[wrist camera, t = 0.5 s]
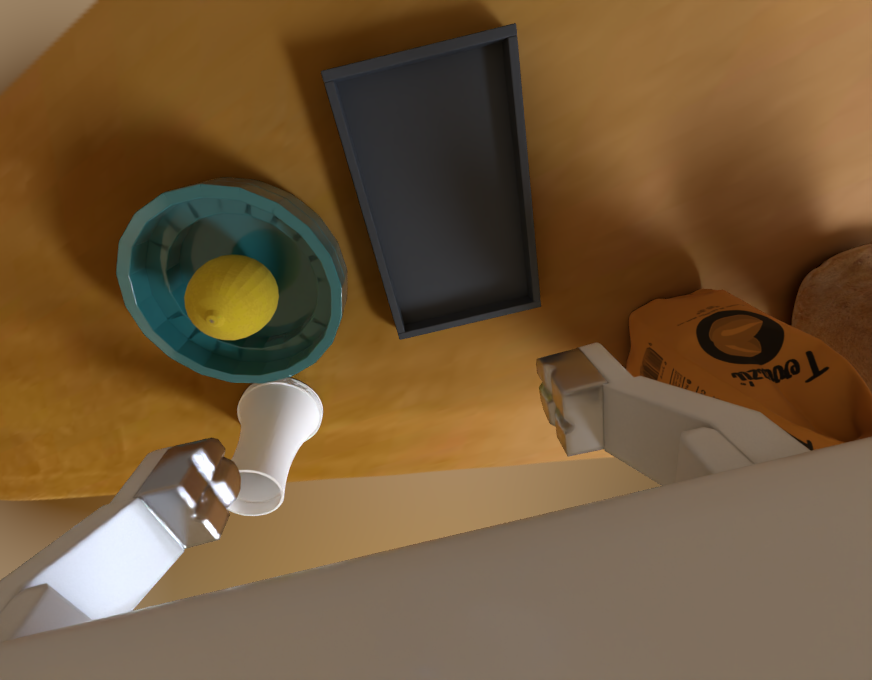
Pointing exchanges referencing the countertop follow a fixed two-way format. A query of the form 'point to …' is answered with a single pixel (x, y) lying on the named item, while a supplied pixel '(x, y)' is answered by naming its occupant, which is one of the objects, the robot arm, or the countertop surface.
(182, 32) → the countertop surface
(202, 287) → the lemon
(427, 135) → the tray
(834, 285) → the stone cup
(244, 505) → the vase
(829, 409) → the coffee package
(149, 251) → the bowl
